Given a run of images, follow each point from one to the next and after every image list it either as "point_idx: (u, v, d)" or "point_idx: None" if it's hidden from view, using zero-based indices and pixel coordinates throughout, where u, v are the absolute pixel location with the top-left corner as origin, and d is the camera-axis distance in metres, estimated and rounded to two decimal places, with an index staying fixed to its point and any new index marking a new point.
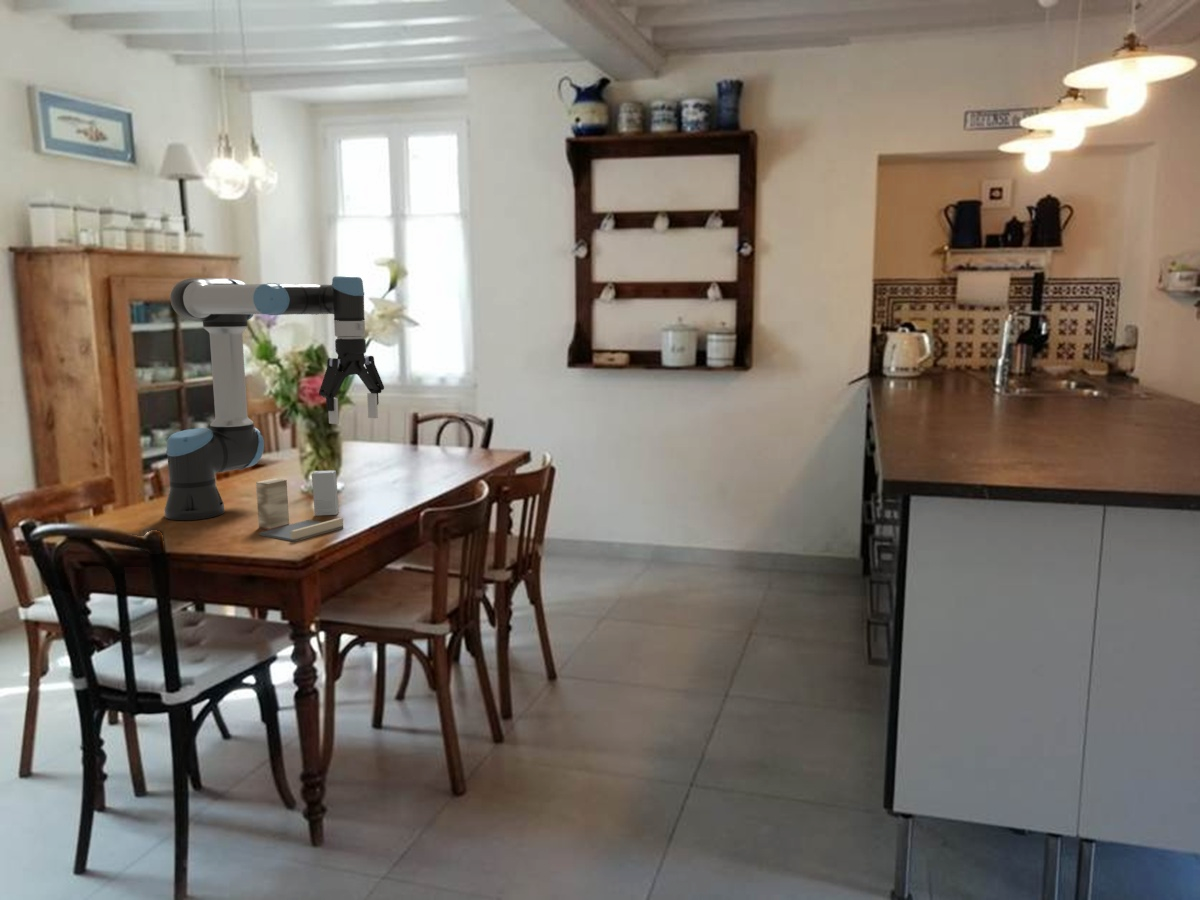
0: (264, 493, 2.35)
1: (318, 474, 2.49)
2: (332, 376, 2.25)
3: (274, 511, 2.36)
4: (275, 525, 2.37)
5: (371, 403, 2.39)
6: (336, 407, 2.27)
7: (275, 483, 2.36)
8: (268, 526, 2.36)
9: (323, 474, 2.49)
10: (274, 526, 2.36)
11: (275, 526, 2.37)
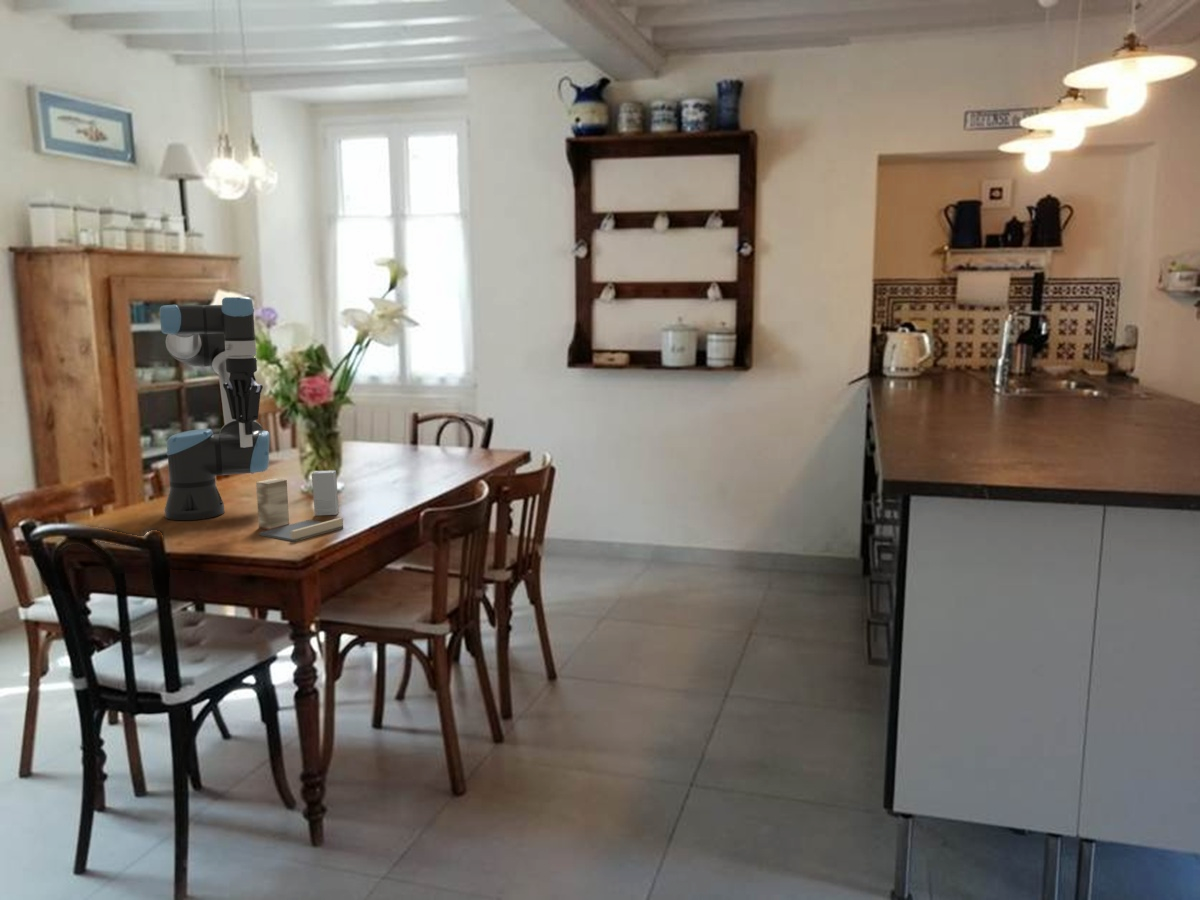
0: (265, 493, 2.35)
1: (318, 474, 2.49)
2: (228, 400, 2.39)
3: (274, 511, 2.36)
4: (275, 525, 2.37)
5: None
6: (240, 431, 2.39)
7: (275, 483, 2.36)
8: (268, 526, 2.36)
9: (323, 474, 2.49)
10: (274, 526, 2.36)
11: (275, 526, 2.37)
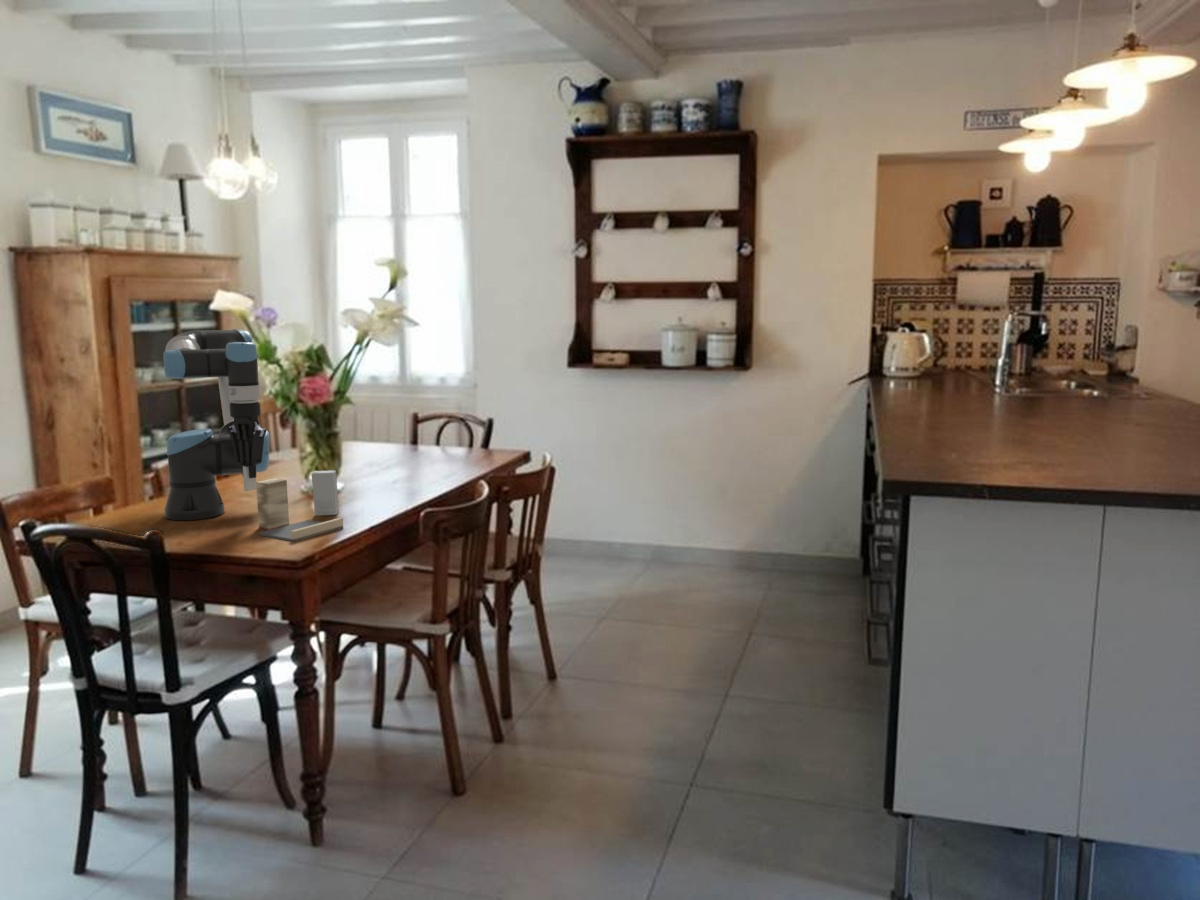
0: (264, 493, 2.35)
1: (318, 474, 2.49)
2: (232, 443, 2.41)
3: (274, 511, 2.36)
4: (275, 525, 2.37)
5: None
6: (244, 474, 2.40)
7: (275, 483, 2.36)
8: (268, 526, 2.36)
9: (323, 474, 2.49)
10: (274, 526, 2.36)
11: (275, 526, 2.37)
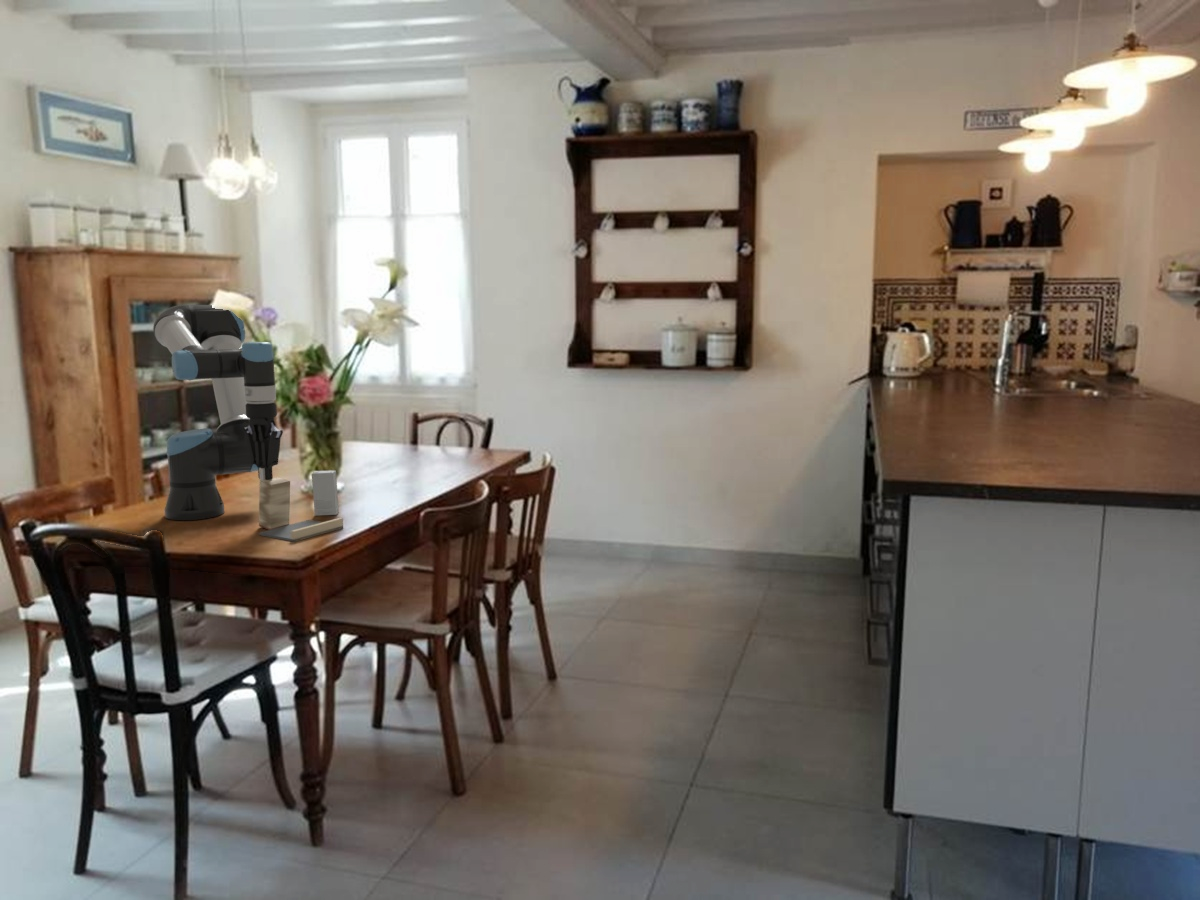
0: (267, 494, 2.34)
1: (318, 474, 2.49)
2: (248, 445, 2.38)
3: (276, 511, 2.36)
4: (275, 525, 2.37)
5: None
6: (260, 476, 2.37)
7: (278, 484, 2.35)
8: (268, 526, 2.36)
9: (323, 474, 2.49)
10: (274, 526, 2.36)
11: (275, 526, 2.37)
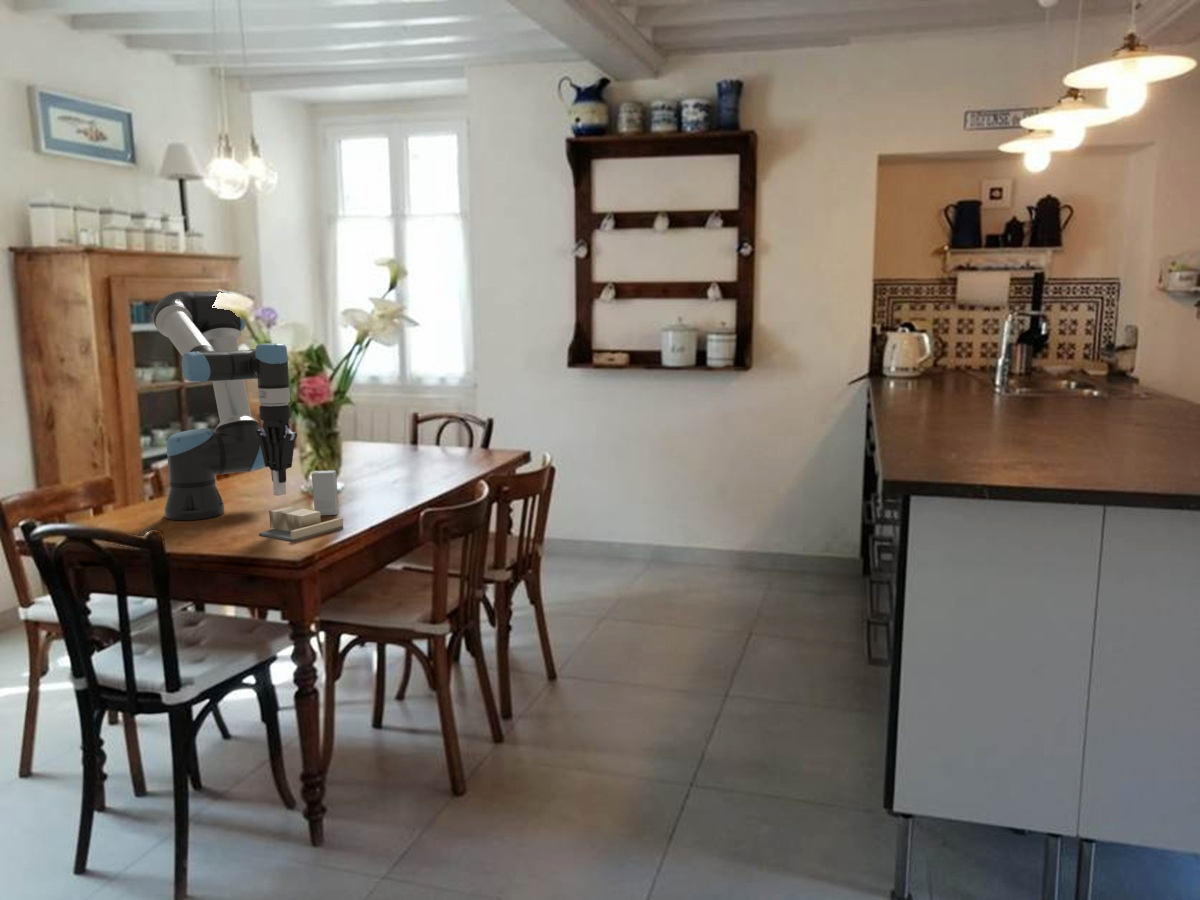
0: (294, 527, 2.30)
1: (318, 474, 2.49)
2: (262, 447, 2.35)
3: None
4: None
5: None
6: (273, 479, 2.35)
7: None
8: (272, 525, 2.35)
9: (323, 474, 2.49)
10: None
11: None
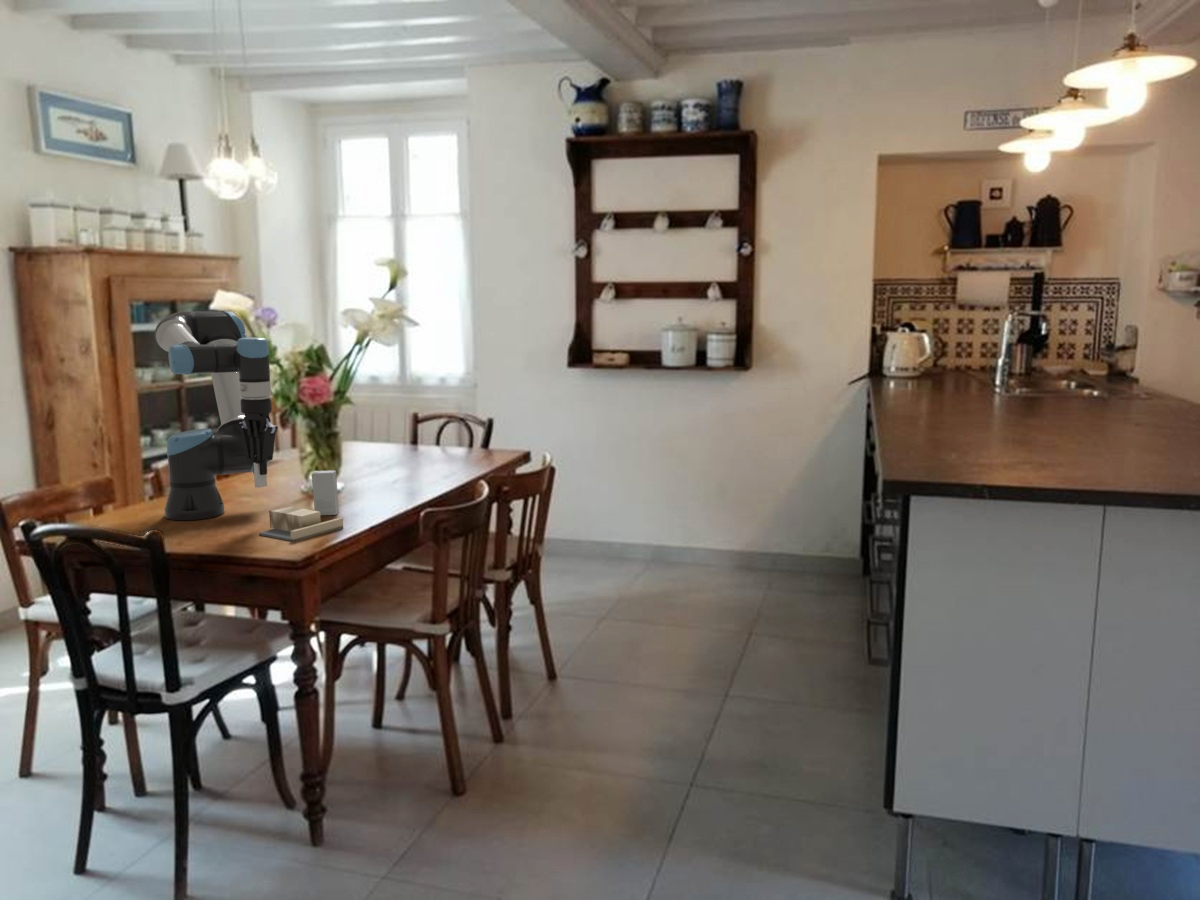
0: (294, 527, 2.30)
1: (318, 474, 2.49)
2: (243, 439, 2.39)
3: None
4: None
5: None
6: (254, 471, 2.38)
7: None
8: (272, 525, 2.35)
9: (323, 474, 2.49)
10: None
11: None
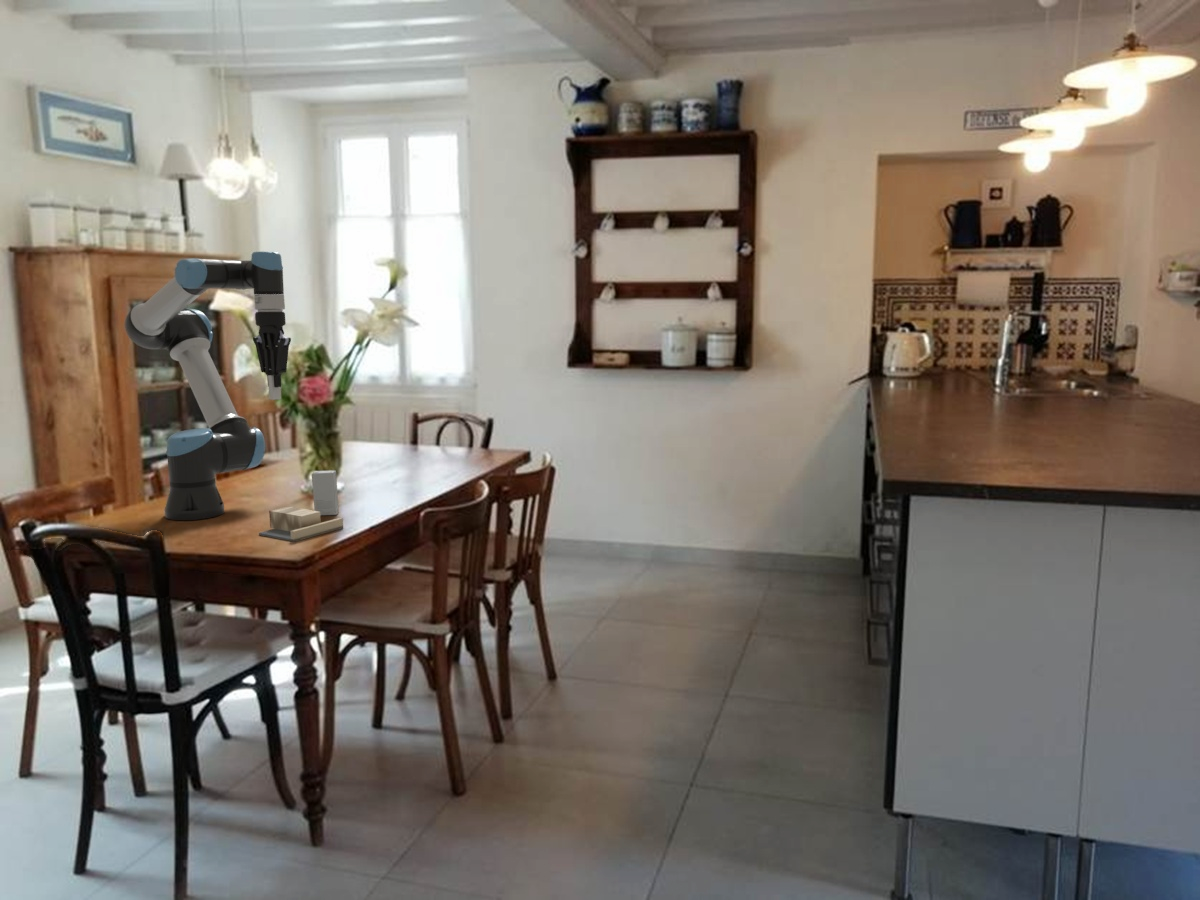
0: (294, 527, 2.30)
1: (318, 474, 2.49)
2: (258, 353, 2.45)
3: None
4: None
5: None
6: (269, 384, 2.44)
7: None
8: (272, 525, 2.35)
9: (323, 474, 2.49)
10: None
11: None
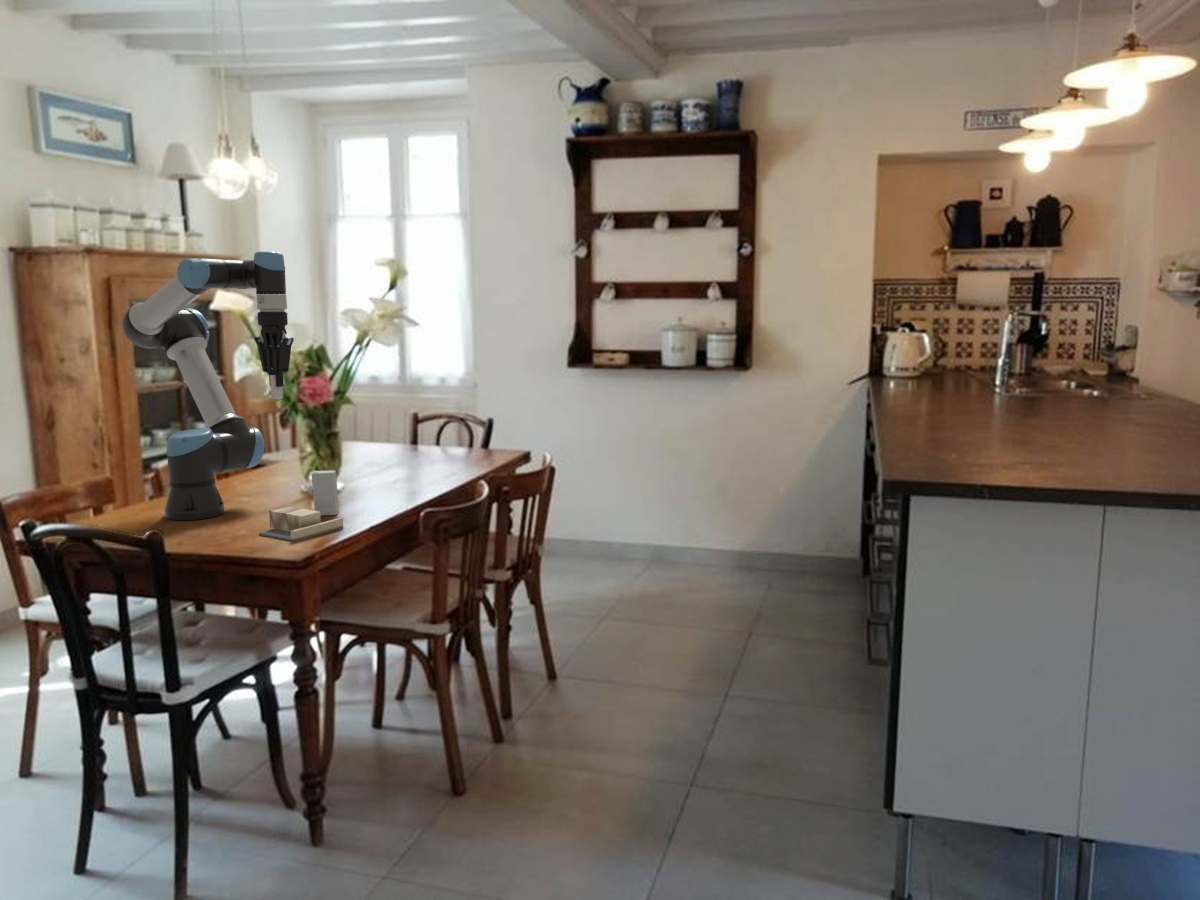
0: (294, 527, 2.30)
1: (318, 474, 2.49)
2: (260, 353, 2.46)
3: None
4: None
5: None
6: (271, 383, 2.45)
7: None
8: (272, 525, 2.35)
9: (323, 474, 2.49)
10: None
11: None
